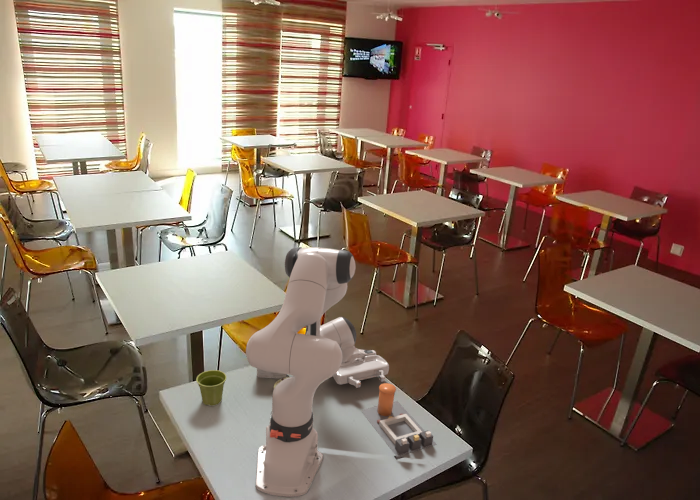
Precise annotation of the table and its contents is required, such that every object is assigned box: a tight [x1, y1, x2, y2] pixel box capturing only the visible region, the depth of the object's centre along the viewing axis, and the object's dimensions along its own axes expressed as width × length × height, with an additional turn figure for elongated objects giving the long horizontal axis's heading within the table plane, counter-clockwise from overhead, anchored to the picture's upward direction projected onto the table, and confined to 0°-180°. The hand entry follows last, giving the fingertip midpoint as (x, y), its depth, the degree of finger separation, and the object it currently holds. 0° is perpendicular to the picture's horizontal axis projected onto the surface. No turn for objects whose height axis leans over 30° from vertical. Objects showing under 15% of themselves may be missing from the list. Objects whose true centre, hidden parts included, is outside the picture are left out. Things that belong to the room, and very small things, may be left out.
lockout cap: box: [377, 382, 397, 416], centre depth 172 cm, size 5×5×9 cm
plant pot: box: [195, 369, 227, 406], centre depth 173 cm, size 9×9×9 cm
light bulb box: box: [256, 368, 288, 380], centre depth 190 cm, size 11×7×11 cm, turn 89°
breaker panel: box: [360, 400, 437, 460], centre depth 166 cm, size 23×14×5 cm, turn 26°
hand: (371, 382), depth 180 cm, fingers open, 8 cm apart
